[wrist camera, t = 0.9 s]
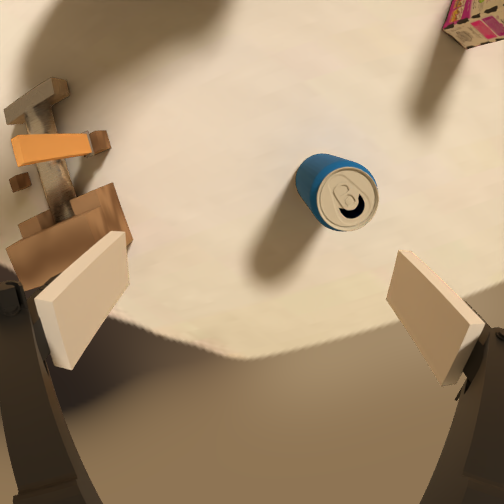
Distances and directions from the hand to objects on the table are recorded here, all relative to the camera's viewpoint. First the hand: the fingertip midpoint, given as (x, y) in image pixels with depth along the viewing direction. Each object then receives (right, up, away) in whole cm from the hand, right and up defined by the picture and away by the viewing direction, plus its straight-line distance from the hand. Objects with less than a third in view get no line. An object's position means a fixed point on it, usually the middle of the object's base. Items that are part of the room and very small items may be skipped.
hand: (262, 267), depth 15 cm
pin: (-27, +13, +22) cm, 37 cm away
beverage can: (+8, +9, +23) cm, 26 cm away
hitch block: (-24, +7, +24) cm, 35 cm away
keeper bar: (-20, +11, +11) cm, 25 cm away
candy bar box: (+29, +34, +14) cm, 47 cm away
